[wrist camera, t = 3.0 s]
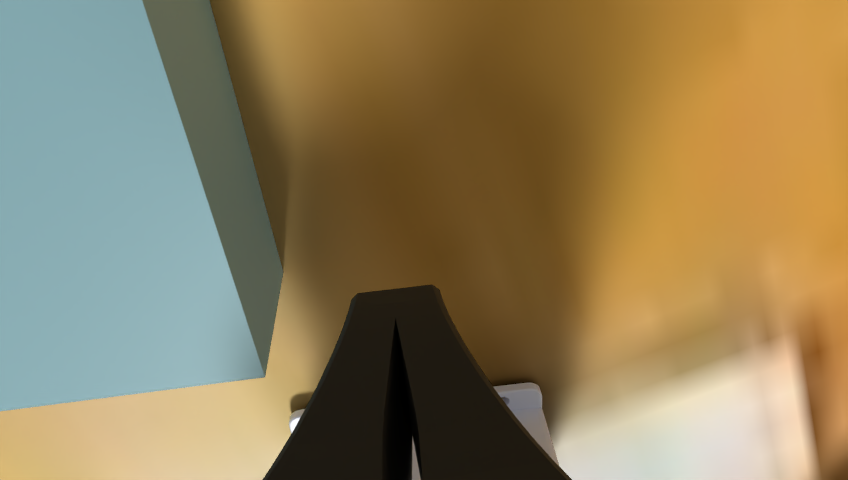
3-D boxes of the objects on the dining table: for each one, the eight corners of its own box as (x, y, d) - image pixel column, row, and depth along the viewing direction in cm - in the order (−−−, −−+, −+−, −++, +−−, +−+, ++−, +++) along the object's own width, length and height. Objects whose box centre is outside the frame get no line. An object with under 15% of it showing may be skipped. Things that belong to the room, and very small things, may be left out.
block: (195, -62, 16) (136, -18, 12) (284, 267, 22) (264, 377, 17) (-132, -22, 16) (-306, 37, 12) (41, 298, 22) (-37, 415, 17)
